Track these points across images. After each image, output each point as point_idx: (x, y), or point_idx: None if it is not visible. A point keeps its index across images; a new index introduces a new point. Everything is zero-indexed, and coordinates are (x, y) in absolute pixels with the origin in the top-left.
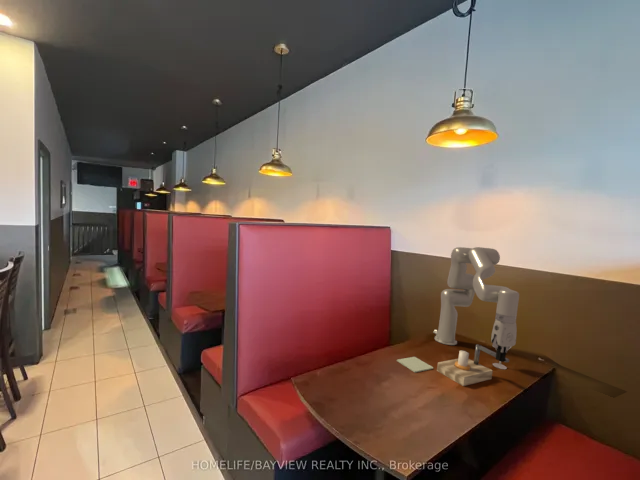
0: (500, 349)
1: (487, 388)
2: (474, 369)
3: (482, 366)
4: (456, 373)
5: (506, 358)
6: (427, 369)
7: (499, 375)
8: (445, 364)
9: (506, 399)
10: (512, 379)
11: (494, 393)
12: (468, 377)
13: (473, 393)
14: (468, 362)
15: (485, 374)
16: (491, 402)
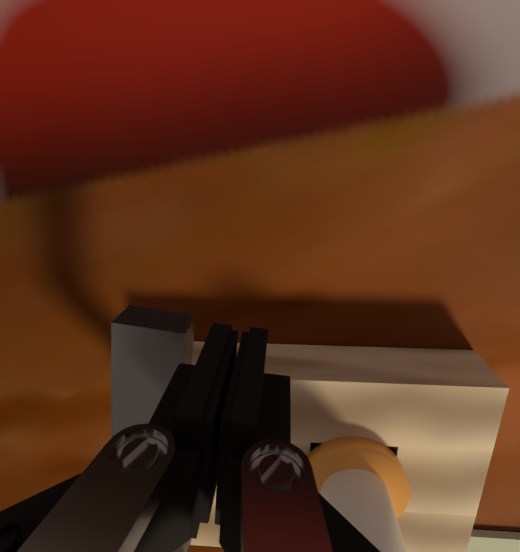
0: (316, 536)
1: (332, 275)
2: (291, 428)
3: None
4: (492, 440)
5: (127, 355)
6: (489, 533)
7: (67, 347)
8: (438, 533)
9: (350, 131)
10: (20, 285)
11: (352, 217)
12: (451, 379)
13: (505, 270)
14: None
15: None
16: (512, 147)
